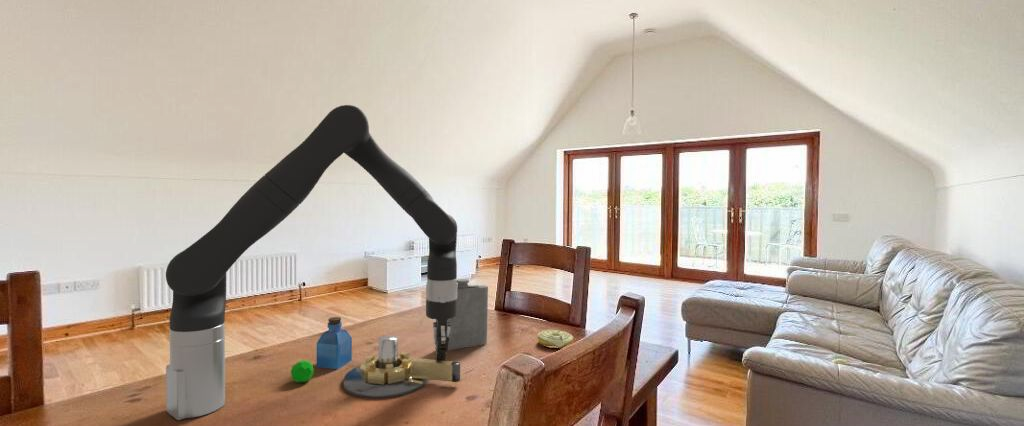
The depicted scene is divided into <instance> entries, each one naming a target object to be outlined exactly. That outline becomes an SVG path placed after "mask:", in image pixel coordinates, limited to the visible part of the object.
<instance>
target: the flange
mask: <svg viewBox="0 0 1024 426" xmlns="http://www.w3.org/2000/svg"><path fill="white" fill-rule="evenodd" d="M398 340H399V338H398V336H397V335H394V334H386V335H382V336H380V337H378V356H379V364H378V368H380V369H386V365H387V364H393V368H395V367H397V355H398V350H399V349H398V344H399V343H398ZM360 366H361V365H358V366H356V367H354V368H352V369H350V370H349V371H348V372H347V373H345V375H344V377H343V388H344V390H345V391H346V392H348V393H349V394H351V395H353V396H356V397H360V398H366V399H390V398H396V397H403V396H406V395H409V394H412V393H415V392H416V391H419V390H421V389H422V388H424V387H425V386H427V384H428V383H429V381H430V379H420V378H412V376H411V377H410V378H409V379H405V381H400V382H396V383H392V384H387V382H386V383H385V384H374V383H368V381H367V382H365V381H364V380H363V379H362V377H361V376H360Z"/></svg>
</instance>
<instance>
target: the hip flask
mask: <svg viewBox="0 0 1024 426" xmlns="http://www.w3.org/2000/svg"><path fill="white" fill-rule="evenodd" d="M469 282H470V280H469V279H468V278H458V279H457V315H456V316H455V317H454V318H450V319H448V320H447V322H449V325H450V333H449V343H448V351H447V352H450V351H454V350H459V349H463V348H464V347H465V348H471V347H478V346H477V345H480V346H484V345H483V344H486V343H487V344H488V310H489V309H488V307H489V306H488V305H489V303H488V302H489V299H488V298H489V286H488V285H483V284H482V285H478V284H476V285H475V284H472V285H471V284H469ZM487 344H486V345H487ZM470 346H471V347H470ZM465 348H464V349H465Z"/></svg>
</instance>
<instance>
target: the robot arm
mask: <svg viewBox="0 0 1024 426" xmlns="http://www.w3.org/2000/svg"><path fill="white" fill-rule="evenodd" d="M343 154H345V155H346V156H347V157H348V158H351V159H352V161H354V162H355V163H357V164H358V165H359V166H360V167H361V168H362V169H364V170H365V171H366V172H367V173H368V174H369V175H370V176H371V177H372V178H373V179H374V180H375V181H376V182H377V183H378V184H379V185H380V186H381V187H382V189H383V190H384V191H385V192H386V193H387V194H388V196H390V197H391V199H393V201H394V202H396V204H398V206H399V207H400V208H401V209H402V210H403V211H404V212H405V213H406V214H407V215H408V216H409V217H411V219H412V220H413V221H414V223H416V225H417V226H418V227H419V229H420V230H421V231H422V232H423V233H424V234H425V236H427V238H428V258H427V265H426V270H427V271H426V272H427V273H426V275H427V276H426V285H425V316H426V317H427V318H428V319H431V320H435V321H434V322H432V330H433V341H434V345H435V353H436V355H435V357H436V358H435V360H442V361H447V353H448V352H449V351H448V343H449V333H450V325H449V322H447V320H448V319H450V318H454V317H455V316H456V315H457V287H458V286H457V284H458V283H457V280H458V279H457V275H458V274H457V272H458V270H457V269H458V265H457V263H458V262H457V256H456V255H457V254H456V253H457V252H456V251H457V239H458V238H457V237H458V224H457V221H456V220H455V218H454V217H453V216H451V215H450V214H448V213H447V212H446V211H445V210H444V209H443V208H441V206H439V205H438V203H437V202H436V201H435V200H434V198H433V196H431V194H430V192H428V191H427V190H426V188H425V187H424V186H423V185H422V184H421V183H420V182H419V181H418V180H417V179H416V178H415V177H414V175H412V174H411V173H410V172H408V171H407V170H406V169H405V168H404V167H402V166H401V165H400V164H398V163H397V162H396V161H395V160H393V159H392V158H391V156H389V155H388V154H387V153H385V151H384V150H383V149H382V148H381V147H380V146H379V144H378V143H377V142H376V140H375V139H374V137H373V136H372V134H371V132H370V125H369V121H368V118H367V115H366V114H365V112H364V111H363V110H362V109H360V108H359V107H358V106H355V105H351V104H345V105H340V106H336V107H334V108H333V109H331V111H329V112H328V113H327V114H326V115H325V117H324V118H323V119H322V120H321V121H320V122H319V124H318V125H317V126H316V127H315V128H314V129H313V131H311V133H310V134H309V135H308V136H307V137H306V138H305V139H304V140H303V141H302V142H301V143H300V144H299V145H298V146H296V147H295V148H293V150H291V151H290V152H289V153H288V154H287V155H285V157H283V158H282V159H280V161H279V162H278V163H277V164H275V165H274V166H273V167H272V168H271V169H269V171H267V172H266V173H265V174H264V175H262V177H260V178H259V179H258V180H257V181H256V182H255V183H254V184H253V185H252V186H250V188H249V189H248V190H247V191H246V192H244V194H243V195H242V196H241V197H240V198H239V199H238V200H237V202H235V203H234V204H233V205H232V206H231V208H230V209H229V210H228V211H227V213H226V214H225V215H224V216H223V217H222V219H221V220H220V221H219V222H218V223H217V224H216V225H215V226H213V228H211V229H210V230H209V231H207V233H205V234H204V235H203V236H201V237H200V238H199V239H198V240H196V241H195V242H194V243H192V244H191V245H190V246H188V247H186V249H184V250H182V251H180V252H179V253H177V254H176V255H175V256H173V257H172V258H171V260H170V261H169V263H168V264H167V267H166V271H165V280H166V284H167V285H168V287H169V289H170V290H172V304H171V311H170V315H169V363H168V364H167V365H166V366H165V396H166V398H165V401H166V403H165V406H166V410H165V411H166V412H165V413H168V414H169V415H170V416H171V417H173V418H174V419H175V420H177V421H181V420H184V419H190V418H196V417H197V418H198V417H202V416H204V415H205V416H206V415H207V414H212V413H213V412H216V411H218V410H219V409H221V408H222V407H223V406H224V405H225V403H226V353H225V352H226V347H225V346H226V344H225V343H226V341H225V340H226V335H225V334H226V323H225V321H226V317H225V316H226V315H225V314H226V308H227V307H226V306H227V272H228V270H230V269H231V267H232V266H233V265H234V264H235V263H236V262H237V261H238V259H240V257H242V255H243V254H244V253H245V252H246V251H247V250H248V249H249V248H251V246H253V245H254V244H255V243H257V241H259V240H260V239H262V238H263V237H264V236H266V235H267V234H268V233H270V232H271V231H272V230H273V229H275V227H277V226H279V224H281V222H283V221H284V220H285V219H286V218H287V217H288V216H289V215H291V214H292V213H293V212H294V211H295V210H296V209H297V208H298V207H299V206H300V205H301V204H302V203H303V202H304V201H305V200H306V199H307V197H309V195H310V193H312V191H313V189H314V188H315V186H317V184H318V182H319V181H320V179H321V177H322V176H323V174H324V173H325V171H326V170H327V169H328V168H329V167H330V166H331V165H332V164H333V163H334V162H335V161H336V160H337V159H339V158H340V157H341V156H342V155H343Z"/></svg>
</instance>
